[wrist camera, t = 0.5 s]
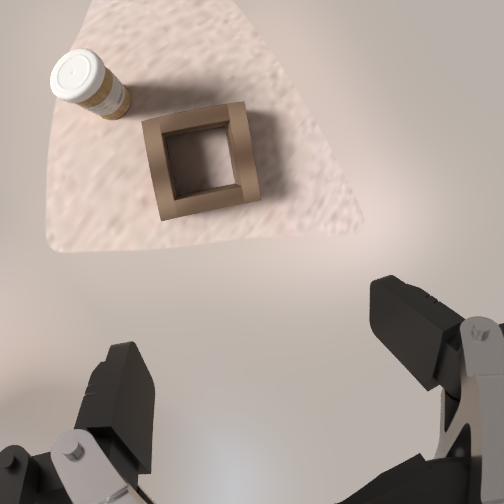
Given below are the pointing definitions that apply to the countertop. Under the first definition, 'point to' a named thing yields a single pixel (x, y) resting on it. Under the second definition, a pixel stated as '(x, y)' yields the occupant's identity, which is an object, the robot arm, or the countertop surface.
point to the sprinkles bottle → (89, 84)
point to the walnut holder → (240, 156)
